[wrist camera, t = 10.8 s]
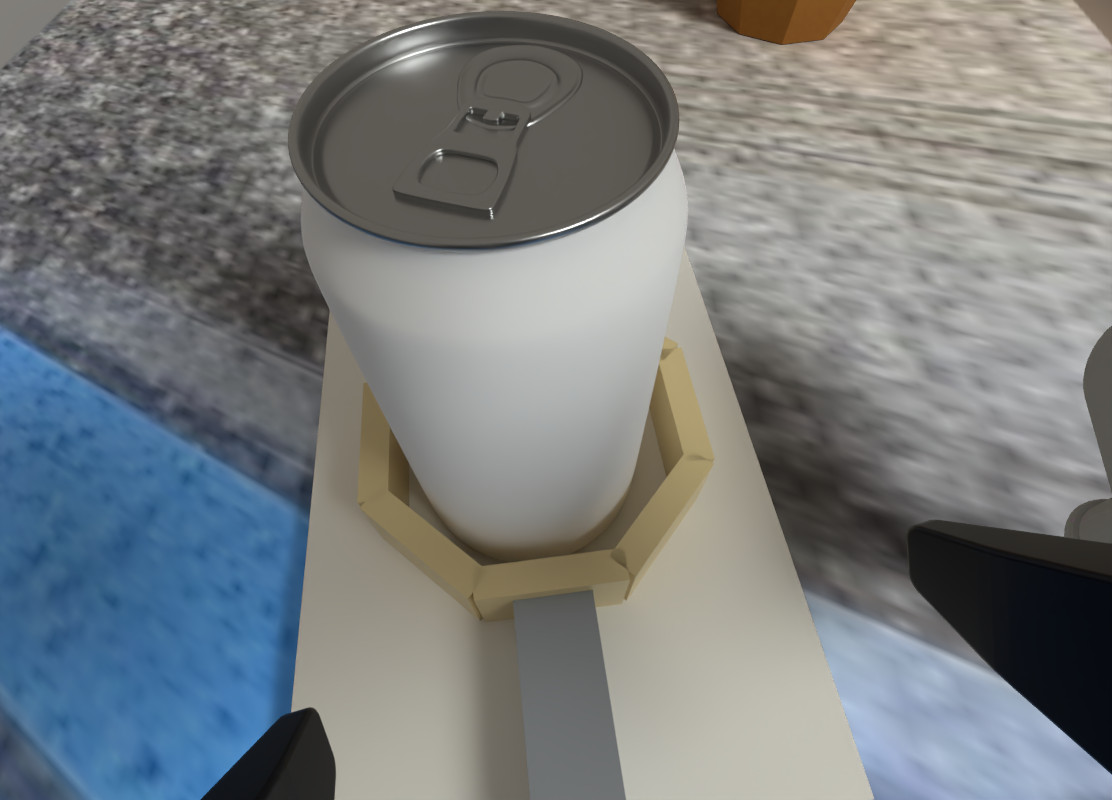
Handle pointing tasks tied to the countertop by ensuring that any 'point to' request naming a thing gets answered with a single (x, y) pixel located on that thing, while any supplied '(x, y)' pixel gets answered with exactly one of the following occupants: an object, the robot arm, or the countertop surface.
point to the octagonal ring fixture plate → (569, 621)
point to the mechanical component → (1108, 402)
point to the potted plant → (784, 18)
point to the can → (500, 259)
